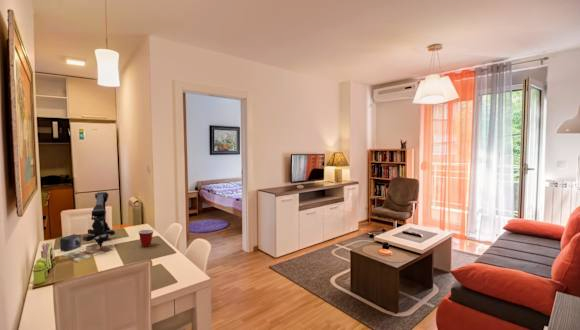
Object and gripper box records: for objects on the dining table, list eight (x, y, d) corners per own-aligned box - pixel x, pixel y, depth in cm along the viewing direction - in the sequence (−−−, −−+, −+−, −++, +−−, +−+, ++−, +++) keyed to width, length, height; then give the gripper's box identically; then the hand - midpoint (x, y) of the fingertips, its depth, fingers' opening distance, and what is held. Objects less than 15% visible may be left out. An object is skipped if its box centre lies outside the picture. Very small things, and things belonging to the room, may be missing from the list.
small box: (67, 253, 197) (66, 239, 197) (60, 252, 199) (59, 238, 198) (81, 248, 208) (80, 234, 207) (74, 247, 209) (73, 234, 208)
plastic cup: (157, 245, 215) (157, 230, 214) (143, 249, 206) (143, 233, 205) (149, 242, 221) (149, 227, 220) (135, 246, 212) (135, 231, 211)
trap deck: (99, 246, 212) (99, 243, 211) (114, 251, 202) (114, 248, 201) (63, 256, 192) (63, 252, 191) (77, 263, 182) (77, 259, 181)
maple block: (95, 248, 203) (95, 243, 202) (99, 250, 200) (99, 245, 199) (86, 251, 197) (85, 246, 197) (90, 253, 194) (90, 247, 194)
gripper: (106, 221, 213) (107, 241, 214) (78, 227, 197) (79, 248, 198) (114, 223, 208) (115, 243, 209) (86, 229, 192) (87, 251, 193)
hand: (99, 246), depth 202 cm, fingers closed
